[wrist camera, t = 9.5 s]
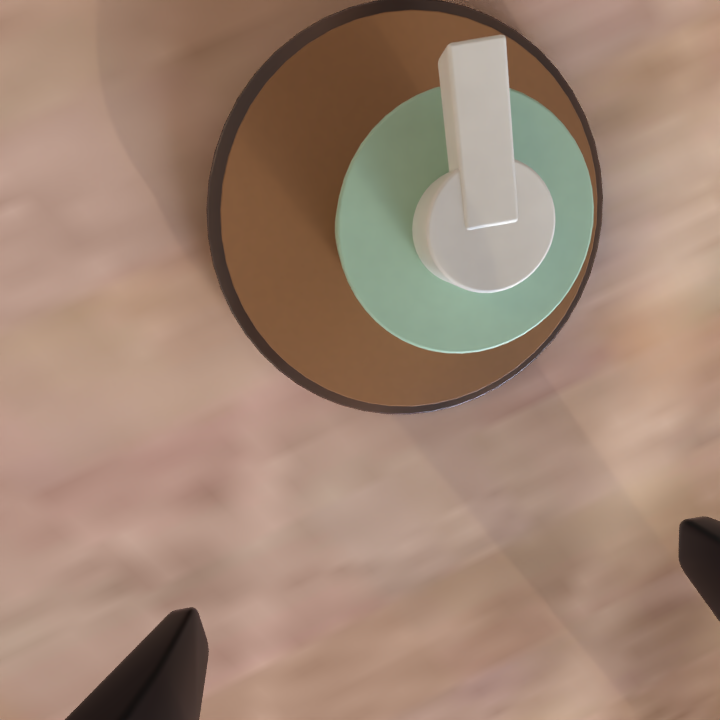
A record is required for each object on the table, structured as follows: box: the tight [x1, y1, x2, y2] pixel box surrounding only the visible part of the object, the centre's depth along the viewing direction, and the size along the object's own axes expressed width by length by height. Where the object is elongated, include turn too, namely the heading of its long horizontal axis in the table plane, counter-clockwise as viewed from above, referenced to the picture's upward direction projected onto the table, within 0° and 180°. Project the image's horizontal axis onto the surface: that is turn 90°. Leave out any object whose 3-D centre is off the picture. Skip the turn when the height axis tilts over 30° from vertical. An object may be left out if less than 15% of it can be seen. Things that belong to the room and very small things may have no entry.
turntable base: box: [207, 0, 603, 414], centre depth 18 cm, size 15×15×1 cm
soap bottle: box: [220, 10, 597, 406], centre depth 13 cm, size 14×14×9 cm
